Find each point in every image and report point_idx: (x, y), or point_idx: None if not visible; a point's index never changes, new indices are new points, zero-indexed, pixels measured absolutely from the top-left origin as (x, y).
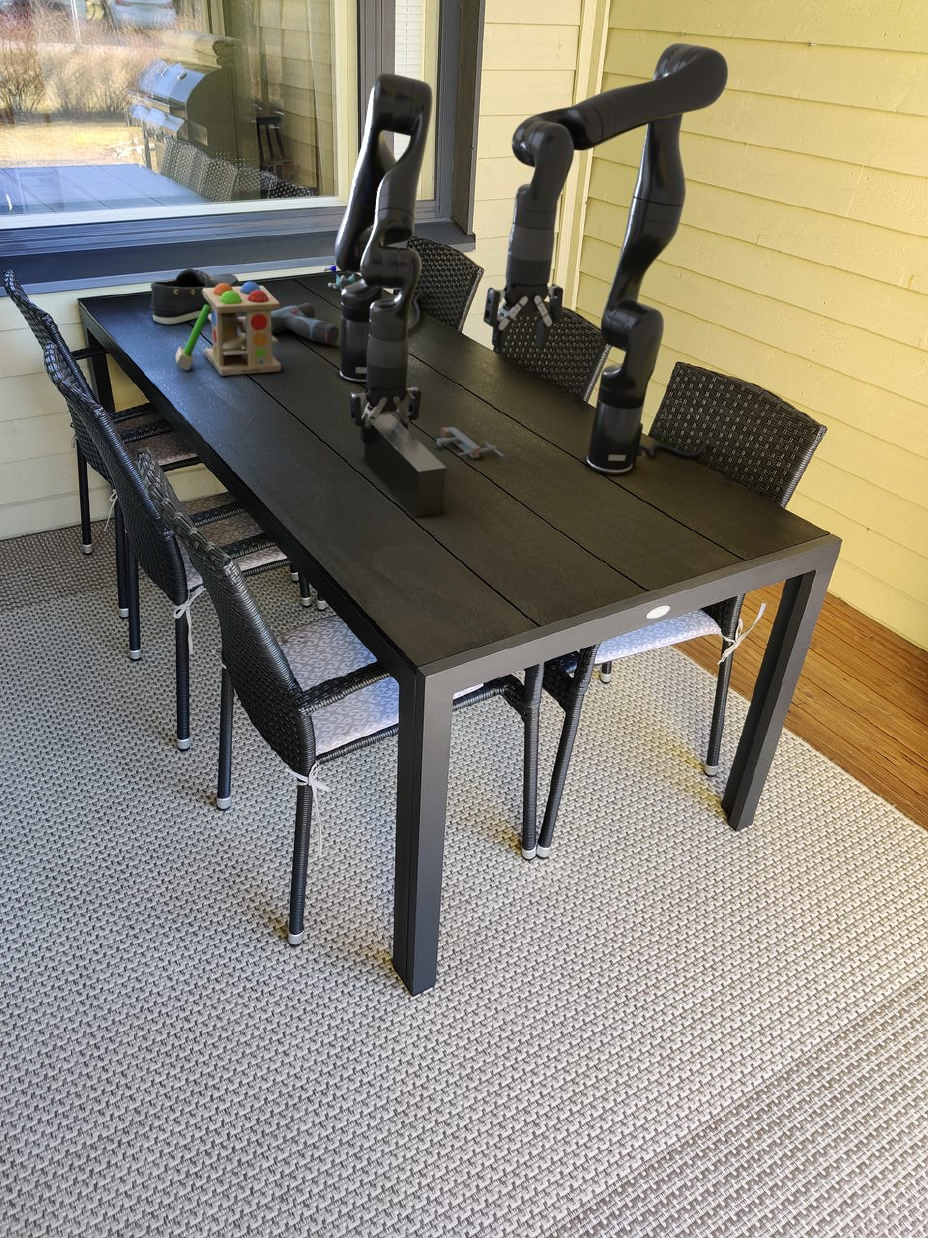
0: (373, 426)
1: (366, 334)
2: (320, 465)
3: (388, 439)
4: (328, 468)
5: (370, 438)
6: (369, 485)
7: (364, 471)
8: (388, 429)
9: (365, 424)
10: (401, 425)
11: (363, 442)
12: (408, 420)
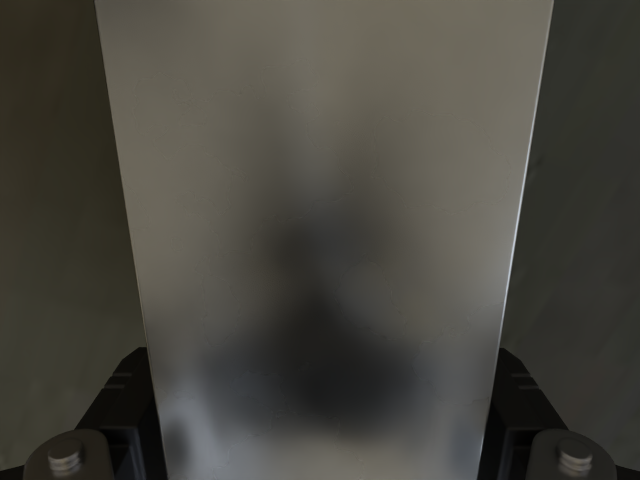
0: (478, 449)
1: None
2: (619, 360)
3: (544, 3)
4: (602, 322)
5: None
6: None
7: None
8: (371, 324)
9: (612, 470)
10: (167, 381)
11: (505, 359)
12: (44, 458)
